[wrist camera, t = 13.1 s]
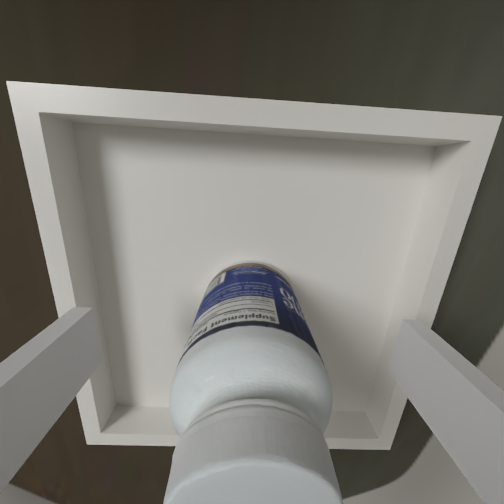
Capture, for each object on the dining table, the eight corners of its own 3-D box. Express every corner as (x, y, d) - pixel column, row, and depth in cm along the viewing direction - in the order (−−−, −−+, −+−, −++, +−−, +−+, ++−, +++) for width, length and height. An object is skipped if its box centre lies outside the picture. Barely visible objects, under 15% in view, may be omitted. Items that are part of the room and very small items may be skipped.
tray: (108, 408, 18) (87, 444, 15) (56, 100, 11) (6, 80, 9) (371, 414, 18) (390, 450, 16) (452, 128, 12) (502, 116, 10)
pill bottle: (299, 328, 15) (382, 573, 6) (217, 342, 15) (170, 602, 6) (286, 249, 13) (376, 414, 4) (195, 266, 14) (83, 461, 4)
